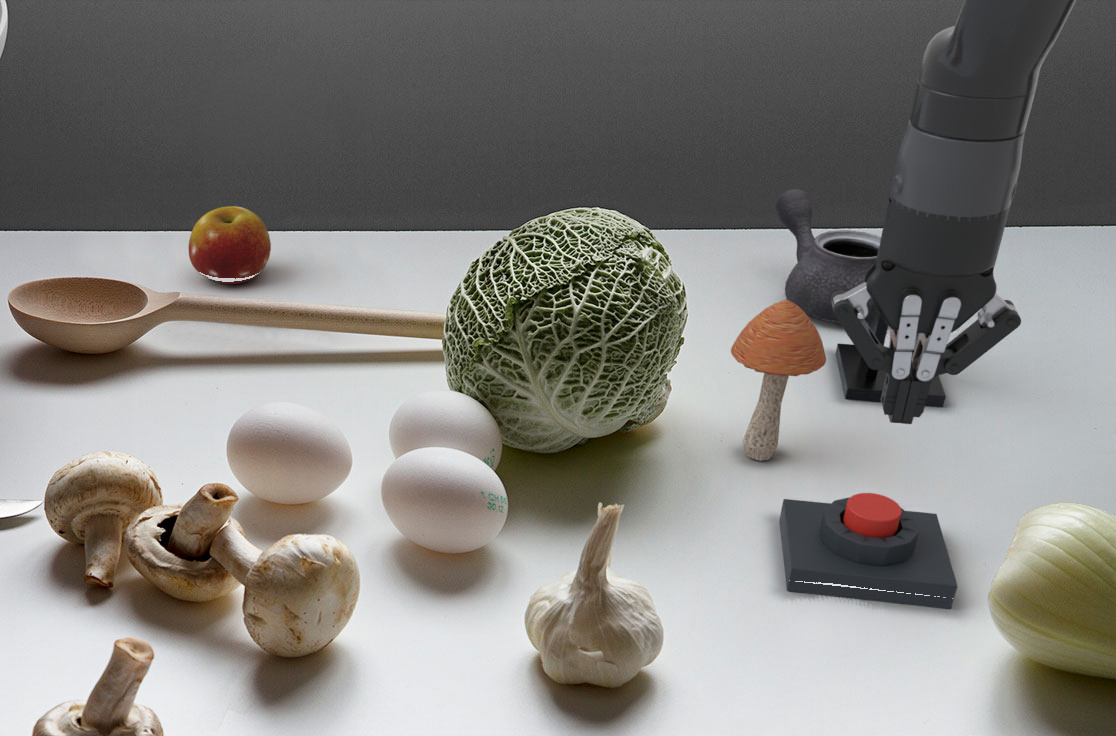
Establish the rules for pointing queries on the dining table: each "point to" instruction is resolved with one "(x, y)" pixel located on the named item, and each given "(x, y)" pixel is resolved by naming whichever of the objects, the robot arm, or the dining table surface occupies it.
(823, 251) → the teapot
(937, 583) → the block
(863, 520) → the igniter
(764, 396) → the mushroom
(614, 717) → the dining table surface
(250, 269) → the fruit
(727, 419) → the dining table surface
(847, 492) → the dining table surface
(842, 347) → the bracket
